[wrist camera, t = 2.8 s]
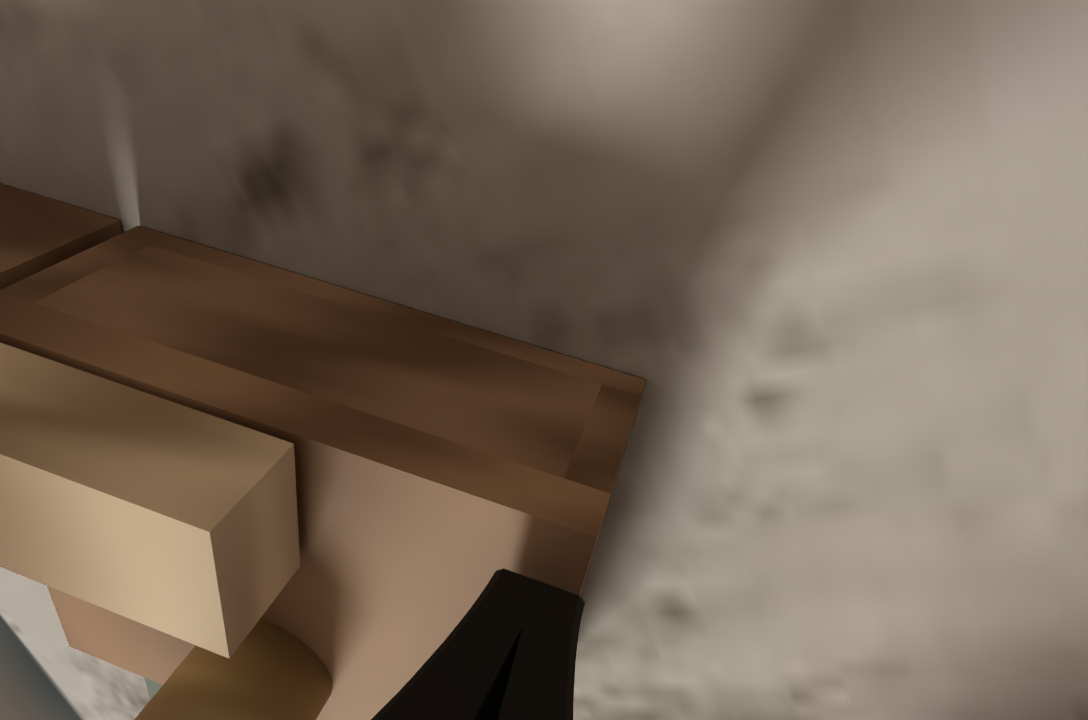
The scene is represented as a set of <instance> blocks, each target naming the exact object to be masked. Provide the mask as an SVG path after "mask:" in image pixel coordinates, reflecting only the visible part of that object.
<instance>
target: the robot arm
mask: <svg viewBox="0 0 1088 720" xmlns="http://www.w3.org/2000/svg"><path fill="white" fill-rule="evenodd" d="M584 604H585V603H584V601H583V600H582V598H581V597H580V596H579V595H577V594H574V593H571V592H568V591H566V590H563V589H560V588H557V587H554V586H552V585H549V584H546V583H543V582H540V581H538V580H535V579H532V578H529V577H526V576H524V575H521V574H518V573H515V572H512V571H510V570H507V569H504V568H503V569H500V570H497V571H495V573H494V574H493V576H492V578H491V579H490V581H489V582H488V584H487V586H486V587H485V589H484V590H483V591H482V593H481V594H480V596H479V597H478V598H477V600H476V601H475V603H474V604H473V605H472V607H471V608H470V609H469V611H468V612H467V613H466V615H465V616H464V617H463V618H462V620H461V621H460V622H459V623H458V625H457V626H456V627H455V628H454V630H453V631H452V632H451V633H450V634H449V636H448V637H447V638H446V639H445V641H444V642H443V643H442V644H441V645H440V646H439V647H438V649H437V650H436V651H435V652H434V653H433V654H432V655H431V656H430V658H429V659H428V660H427V661H426V662H425V663H424V664H423V665H422V667H421V668H420V669H419V670H418V671H417V672H416V673H415V674H414V676H413V677H412V678H411V679H410V680H409V681H408V682H407V683H406V684H405V685H404V687H403V688H402V689H401V690H400V691H399V692H398V693H397V694H396V695H395V696H394V697H393V698H392V699H391V700H390V701H389V702H388V703H387V704H386V705H385V706H384V707H383V708H382V709H381V710H380V711H379V712H378V713H377V714H376V715H375V716H374V717H373V718H372V719H371V720H573V695H574V676H575V660H576V650H577V641H578V633H579V627H580V622H581V616H582V612H583V608H584Z"/></svg>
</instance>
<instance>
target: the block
mask: <svg viewBox="0 0 1088 720" xmlns="http://www.w3.org/2000/svg"><path fill="white" fill-rule="evenodd" d="M0 567H2V568H5V569H7V570H10V571H12V572H15V573H17V574H20V575H22V576H25V577H27V578H30V579H32V580H35V581H37V582H40V583H42V584H44V585H47V586H49V587H52V588H54V589H57V590H59V591H62V592H64V593H67V594H69V595H72V596H74V597H77V598H79V599H82V600H84V601H87V602H89V603H92V604H94V605H97V606H99V607H102V608H104V609H107V610H109V611H112V612H114V613H117V614H119V615H122V616H124V617H127V618H129V619H132V620H134V621H137V622H139V623H141V624H144V625H146V626H149V627H151V628H154V629H156V630H159V631H161V632H164V633H166V634H169V635H171V636H174V637H176V638H179V639H181V640H184V641H186V642H189V643H191V644H194V645H196V646H199V647H201V648H204V649H206V650H209V651H211V652H214V653H216V654H219V655H221V656H224V657H226V658H229V659H230V657H231V656H232V655H233V654H234V652H235V651H236V650H237V648H238V647H239V646H240V644H241V643H242V642H243V640H244V639H245V638H246V636H247V635H248V634H249V632H250V631H251V630H252V629H253V627H254V626H255V625H256V623H257V622H258V621H259V619H260V618H261V617H262V615H263V614H264V613H265V611H266V610H267V609H268V608H269V606H270V605H271V604H272V602H273V601H274V600H275V598H276V597H277V596H278V594H279V593H280V592H281V590H282V589H283V588H284V586H285V585H286V584H287V583H288V581H289V580H290V579H291V577H292V576H293V575H294V573H295V572H296V571H297V569H298V568H299V567H300V553H299V533H298V514H297V495H296V476H295V456H294V444H293V443H290V442H287V441H285V440H282V439H279V438H276V437H273V436H270V435H267V434H264V433H261V432H258V431H256V430H253V429H250V428H247V427H244V426H241V425H238V424H235V423H232V422H229V421H227V420H224V419H221V418H218V417H215V416H212V415H209V414H206V413H203V412H200V411H198V410H195V409H192V408H189V407H186V406H183V405H180V404H177V403H174V402H171V401H168V400H166V399H163V398H160V397H157V396H154V395H151V394H148V393H145V392H142V391H139V390H137V389H134V388H131V387H128V386H125V385H122V384H119V383H116V382H113V381H110V380H108V379H105V378H102V377H99V376H96V375H93V374H90V373H87V372H84V371H81V370H79V369H76V368H73V367H70V366H67V365H64V364H61V363H58V362H55V361H52V360H50V359H47V358H44V357H41V356H38V355H35V354H32V353H29V352H26V351H23V350H21V349H18V348H15V347H12V346H9V345H6V344H3V343H0Z"/></svg>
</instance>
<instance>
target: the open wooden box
mask: <svg viewBox="0 0 1088 720" xmlns="http://www.w3.org/2000/svg"><path fill="white" fill-rule="evenodd" d="M0 291H1V292H4V293H7V294H10V295H13V296H16V297H19V298H22V299H25V300H28V301H31V302H34V303H37V304H40V305H43V306H46V307H49V308H52V309H55V310H58V311H61V312H64V313H67V314H70V315H73V316H76V317H79V318H82V319H85V320H88V321H91V322H94V323H97V324H100V325H103V326H106V327H109V328H112V329H115V330H118V331H121V332H124V333H127V334H130V335H133V336H136V337H139V338H142V339H145V340H148V341H151V342H154V343H157V344H160V345H163V346H166V347H169V348H172V349H175V350H178V351H181V352H184V353H187V354H190V355H194V356H197V357H200V358H203V359H206V360H209V361H212V362H215V363H218V364H221V365H224V366H227V367H230V368H233V369H236V370H239V371H242V372H245V373H248V374H251V375H254V376H257V377H260V378H263V379H266V380H269V381H272V382H275V383H278V384H281V385H284V386H287V387H290V388H293V389H296V390H299V391H302V392H305V393H308V394H311V395H314V396H317V397H320V398H323V399H326V400H329V401H332V402H335V403H338V404H341V405H344V406H347V407H350V408H353V409H356V410H359V411H362V412H365V413H368V414H371V415H374V416H377V417H380V418H383V419H386V420H390V421H393V422H396V423H399V424H402V425H405V426H408V427H411V428H414V429H417V430H420V431H423V432H426V433H429V434H432V435H435V436H438V437H441V438H444V439H447V440H450V441H453V442H456V443H459V444H462V445H465V446H468V447H471V448H474V449H477V450H480V451H483V452H486V453H489V454H492V455H495V456H498V457H501V458H504V459H507V460H510V461H513V462H516V463H519V464H522V465H525V466H528V467H531V468H534V469H537V470H540V471H543V472H546V473H549V474H552V475H555V476H558V477H561V478H564V479H567V480H570V481H573V482H576V483H579V484H583V485H586V486H589V487H592V488H595V489H598V490H601V491H604V492H607V493H610V497H609V501H610V498H611V494H612V491H613V488H614V484H615V481H616V478H617V475H618V471H619V468H620V465H621V461H622V458H623V455H624V452H625V448H626V445H627V442H628V438H629V435H630V432H631V428H632V425H633V422H634V419H635V415H636V412H637V409H638V405H639V402H640V399H641V396H642V392H643V389H644V386H645V382H646V380H645V379H641V378H638V377H635V376H632V375H628V374H625V373H622V372H618V371H615V370H612V369H609V368H605V367H602V366H599V365H595V364H592V363H589V362H586V361H582V360H579V359H576V358H572V357H569V356H566V355H562V354H559V353H556V352H553V351H549V350H546V349H543V348H539V347H536V346H533V345H530V344H526V343H523V342H520V341H516V340H513V339H510V338H507V337H503V336H500V335H497V334H493V333H490V332H487V331H484V330H480V329H477V328H474V327H470V326H467V325H464V324H461V323H457V322H454V321H451V320H447V319H444V318H441V317H437V316H434V315H431V314H428V313H424V312H421V311H418V310H414V309H411V308H408V307H405V306H401V305H398V304H395V303H391V302H388V301H385V300H382V299H378V298H375V297H372V296H368V295H365V294H362V293H359V292H355V291H352V290H349V289H345V288H342V287H339V286H336V285H332V284H329V283H326V282H322V281H319V280H316V279H312V278H309V277H306V276H303V275H299V274H296V273H293V272H289V271H286V270H283V269H280V268H276V267H273V266H270V265H266V264H263V263H260V262H257V261H253V260H250V259H247V258H243V257H240V256H237V255H234V254H230V253H227V252H224V251H220V250H217V249H214V248H211V247H207V246H204V245H201V244H197V243H194V242H191V241H187V240H184V239H181V238H178V237H174V236H171V235H168V234H164V233H161V232H158V231H155V230H151V229H148V228H145V227H141V226H137V227H134V228H132V229H130V230H128V231H126V232H124V233H122V229H121V223H120V220H118V219H115V218H112V217H109V216H105V215H102V214H99V213H95V212H92V211H89V210H86V209H82V208H79V207H76V206H72V205H69V204H66V203H62V202H59V201H56V200H53V199H49V198H46V197H43V196H39V195H36V194H33V193H30V192H26V191H23V190H20V189H16V188H13V187H10V186H7V185H3V184H0ZM609 501H608V504H609ZM608 504H607V507H606V511H607V508H608ZM606 511H605V514H606ZM605 514H604V517H605ZM604 517H603V521H604ZM603 521H602V524H603ZM602 524H601V527H602ZM601 527H600V531H601ZM600 531H599V534H600ZM599 534H598V537H599ZM598 537H597V540H598ZM597 540H596V544H597ZM596 544H595V547H596ZM595 547H594V550H595ZM594 550H593V554H594ZM593 554H592V557H593ZM592 557H591V560H592ZM591 560H590V564H591ZM590 564H589V567H590ZM589 567H588V570H589ZM588 570H587V573H588ZM586 577H587V574H586ZM586 577H585V580H586ZM585 580H584V583H585ZM584 583H583V587H584ZM583 587H582V590H583ZM582 590H581V593H582ZM581 593H580V596H581Z"/></svg>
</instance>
